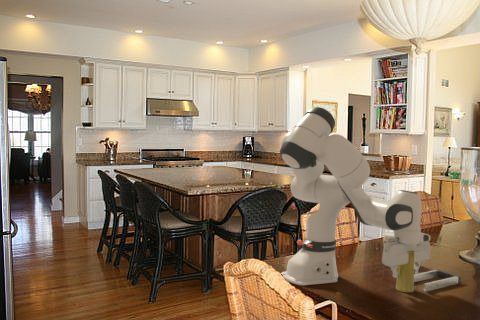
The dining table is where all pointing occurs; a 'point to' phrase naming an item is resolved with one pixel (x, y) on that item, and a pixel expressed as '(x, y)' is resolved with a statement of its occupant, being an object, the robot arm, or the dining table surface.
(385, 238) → the coffee cup
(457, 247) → the dining table surface
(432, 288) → the rail board
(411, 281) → the vase
